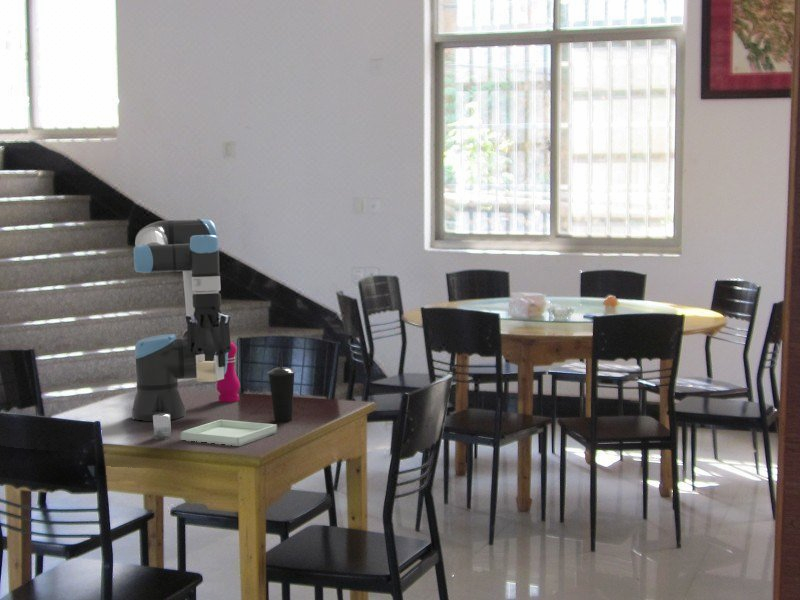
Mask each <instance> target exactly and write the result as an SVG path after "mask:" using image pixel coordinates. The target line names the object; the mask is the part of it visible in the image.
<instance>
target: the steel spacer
mask: <svg viewBox="0 0 800 600" xmlns="http://www.w3.org/2000/svg"><path fill="white" fill-rule="evenodd" d="M152 422H153V425H152V427H153V439H154V438H157V439H156V440H158V439H162V440H166V439H165V438H169V439H171V438H172V426H171V423H172V422H171V420H170V414H165V413H164V414H155V415H153V421H152ZM170 437H171V438H170Z"/></svg>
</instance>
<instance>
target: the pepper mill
mask: <svg viewBox="0 0 800 600" xmlns="http://www.w3.org/2000/svg"><path fill="white" fill-rule="evenodd" d="M230 343H231V352H228V360H227V371H226V373H225V374H224V379H223V380H219V381H216V390H217V392H218V393H219V395H218V402H220V403H236V402H238V401H240V394H239V393H238V392H239V391H240V389H241V382H240V379H239V378H238V376H237V373H236V370H235V362H236V357H235V355H236V354H237V353H238V347H237V346H236V343H234V342H232V341H230Z"/></svg>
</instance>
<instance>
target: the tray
mask: <svg viewBox="0 0 800 600" xmlns="http://www.w3.org/2000/svg"><path fill="white" fill-rule="evenodd" d="M275 434H278V424H275V423H274V424H273V423H261V422H252V421H251V422H250V421H243V420H242V421H241V420H240V421H239V420H231V419H230V420H229V419H218V420H215V421H211V422H208V423H205V424H201V425H199V426H195V427H192V428H188V429H185V430H182V431H180V432H179V438H180V439H179V441H182V440H186V441H185V442H191V441H195V442H194V443H201V442H207V443H206V444H211V443H215V444H214V445H221V444H225V445H224V446H231V445H232V446H231V447H241V446H245V445H246V444H249V443H252V442H255V441H259V440H260V439H264V438H266V437H269V436H272V435H275ZM196 441H197V442H196Z"/></svg>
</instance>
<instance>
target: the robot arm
mask: <svg viewBox="0 0 800 600" xmlns="http://www.w3.org/2000/svg"><path fill="white" fill-rule="evenodd" d="M134 245H135V246H134V247H133V265H134V271H135V272H136V273H145V274H150V273H164V272H165V273H166V272H168V273H169V272H182V277H183V289H184V300H185V301H184V303H185V315H186V316H185V321H186V327H187V329H185V330H184V332H183V334H182V338H177V335H176V334H175V333H169V334H168V333H165V334H158V335H153V336H148V337H145V338H142V339H139V340H138V341H137V342H136V344H135V347H134V348H135V349H134V353H135V354H134V359H135V370H136V371H135V372H136V373H135V377H136V378H135V379H136V393H135V397H134V401H133V406H132V408H131V419H132V418H134V419H137V420H136V421H138V420H143V421H142V422H153V415H155V414H164V413H165V414H170V421H171V420H176V419H181V418H182V417H185V416H186V406H185V404H184V401H183V398H182V396H181V392H180V390H179V382H178V381H179V380H183V379H184V380H186V379H187V380H188V379H197V364H196V363H199V362H204V361H215V380H220V379H224V374H225V373H226V371H227V360H228V352H231V343H230V342H231V335H230V334H231V333H230V320H231V316H230V315H229V314H226V315H225V314H223V313H222V312H221V306H222V294H221V293H220V291H222V290H221V289H222V288H221V276H220V275H221V273H220V244H219V237H218V232H217V228H216V226H215V223H214V222H213V221H212V220H210V219H201V218H196V219H178V220H177V219H174V220H173V219H172V220H168V219H165V220H158V221H155V222H152V223H149V224H147V225H145V226H144V227H142V228H141V229H139V231H138V232H137V234H136V235H135V240H134ZM134 419H133V420H134Z"/></svg>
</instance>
